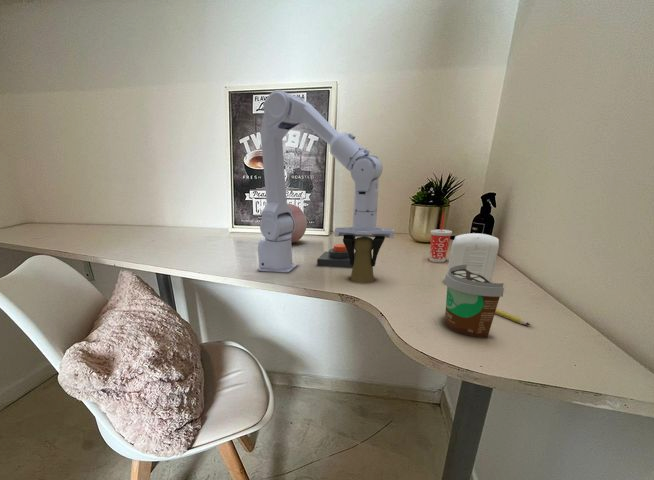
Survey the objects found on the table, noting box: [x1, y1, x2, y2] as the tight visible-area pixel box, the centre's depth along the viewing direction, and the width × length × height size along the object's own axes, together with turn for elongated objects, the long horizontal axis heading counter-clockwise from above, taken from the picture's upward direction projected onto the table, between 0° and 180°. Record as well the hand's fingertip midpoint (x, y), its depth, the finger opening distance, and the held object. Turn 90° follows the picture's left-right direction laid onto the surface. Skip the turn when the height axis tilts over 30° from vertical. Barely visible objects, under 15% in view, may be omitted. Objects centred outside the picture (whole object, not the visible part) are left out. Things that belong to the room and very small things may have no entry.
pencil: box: [494, 308, 531, 326], centre depth 66 cm, size 1×14×1 cm, turn 24°
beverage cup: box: [429, 213, 453, 263], centre depth 101 cm, size 6×6×14 cm
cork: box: [350, 237, 375, 283], centre depth 86 cm, size 6×6×11 cm
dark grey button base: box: [316, 247, 355, 269], centre depth 103 cm, size 12×10×4 cm
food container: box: [443, 265, 505, 338], centre depth 59 cm, size 12×6×10 cm, turn 5°
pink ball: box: [287, 203, 308, 244], centre depth 129 cm, size 15×15×15 cm
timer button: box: [333, 243, 347, 252], centre depth 102 cm, size 4×4×2 cm
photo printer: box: [446, 232, 500, 283], centre depth 80 cm, size 10×4×12 cm, turn 72°
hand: (362, 264), depth 87 cm, fingers closed on cork, 5 cm apart
